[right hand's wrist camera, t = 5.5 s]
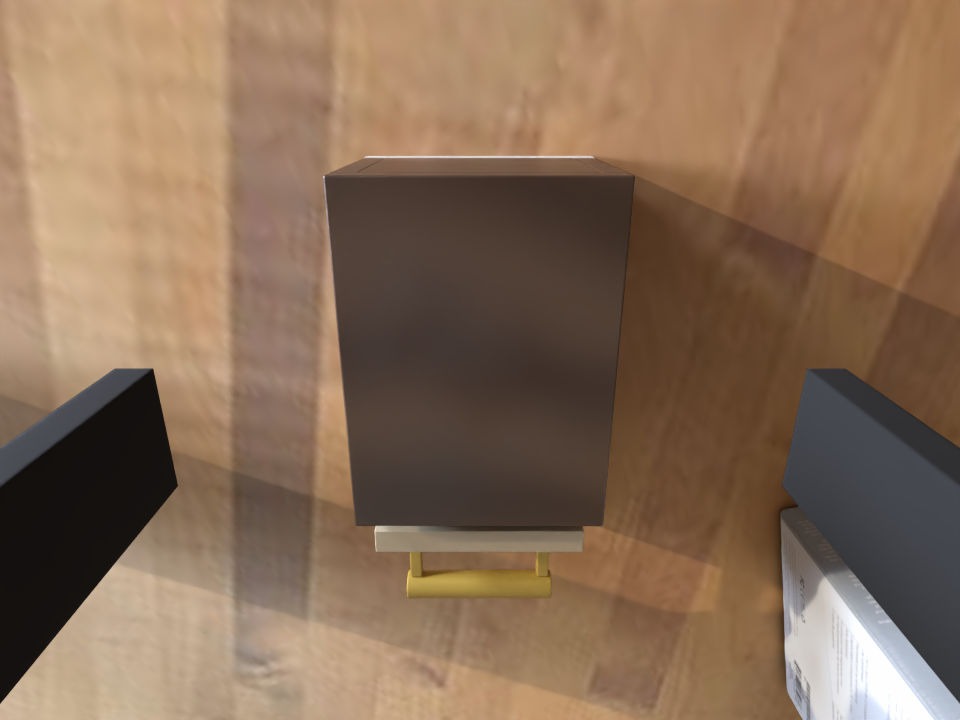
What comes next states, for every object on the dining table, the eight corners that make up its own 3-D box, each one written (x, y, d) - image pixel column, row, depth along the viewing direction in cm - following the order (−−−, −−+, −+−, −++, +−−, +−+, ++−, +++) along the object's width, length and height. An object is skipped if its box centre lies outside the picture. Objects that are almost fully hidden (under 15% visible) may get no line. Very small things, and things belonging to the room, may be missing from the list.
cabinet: (573, 426, 35) (603, 527, 27) (385, 426, 35) (354, 527, 27) (591, 156, 30) (635, 175, 21) (367, 156, 30) (322, 175, 21)
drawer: (558, 548, 37) (575, 644, 30) (400, 548, 37) (383, 644, 30) (577, 232, 30) (604, 267, 23) (381, 232, 30) (353, 267, 23)
